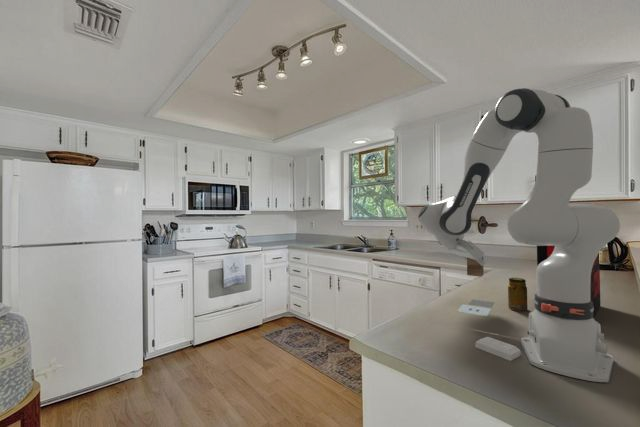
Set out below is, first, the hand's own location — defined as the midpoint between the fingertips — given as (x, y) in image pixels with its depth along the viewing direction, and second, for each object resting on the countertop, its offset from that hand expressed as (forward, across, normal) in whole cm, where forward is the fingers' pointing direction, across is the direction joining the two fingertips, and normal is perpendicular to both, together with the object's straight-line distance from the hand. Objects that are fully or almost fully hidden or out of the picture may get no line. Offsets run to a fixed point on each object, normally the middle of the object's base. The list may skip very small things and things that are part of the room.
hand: (476, 262), depth 114 cm
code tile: (+10, -4, +15) cm, 18 cm away
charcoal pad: (+15, +4, +10) cm, 19 cm away
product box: (+36, -4, -11) cm, 38 cm away
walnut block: (+3, 0, +4) cm, 5 cm away
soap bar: (+2, -36, +23) cm, 43 cm away
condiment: (+22, -5, +3) cm, 23 cm away
